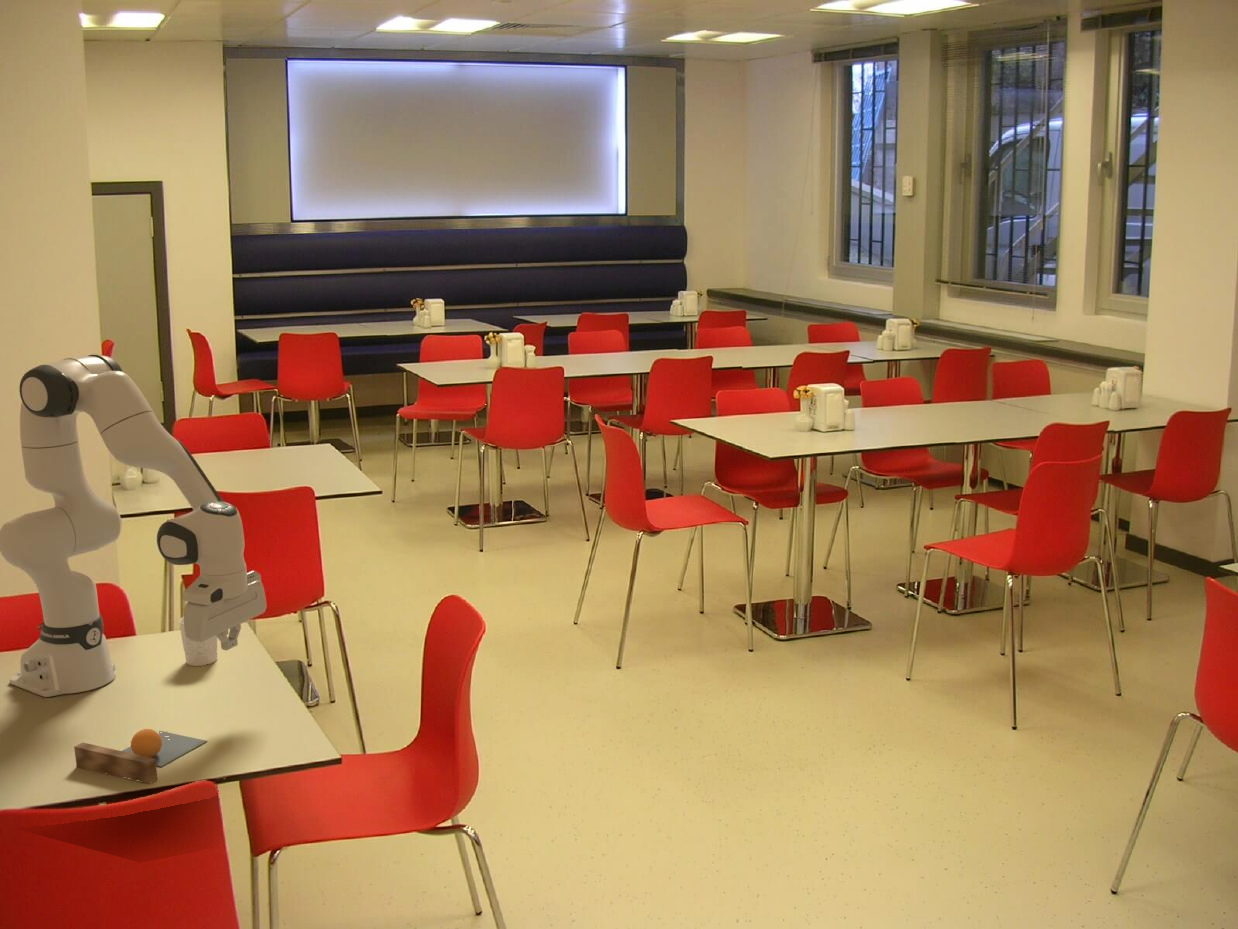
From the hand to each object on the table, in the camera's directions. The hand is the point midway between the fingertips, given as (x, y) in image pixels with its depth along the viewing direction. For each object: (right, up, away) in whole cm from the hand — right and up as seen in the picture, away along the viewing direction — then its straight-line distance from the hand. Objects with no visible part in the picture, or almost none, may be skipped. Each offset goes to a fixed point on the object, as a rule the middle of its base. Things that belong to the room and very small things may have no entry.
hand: (229, 647), depth 268 cm
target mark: (-8, -17, -16) cm, 25 cm away
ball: (-10, -15, -20) cm, 27 cm away
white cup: (-15, -7, +30) cm, 34 cm away
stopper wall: (-13, -19, -25) cm, 35 cm away
